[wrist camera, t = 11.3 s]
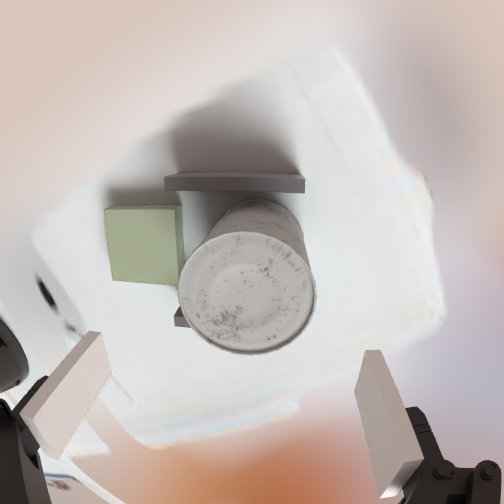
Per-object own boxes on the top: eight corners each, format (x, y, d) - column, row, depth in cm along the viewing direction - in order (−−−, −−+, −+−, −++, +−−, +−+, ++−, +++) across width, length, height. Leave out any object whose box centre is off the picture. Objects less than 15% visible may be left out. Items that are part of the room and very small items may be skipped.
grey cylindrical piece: (200, 213, 32) (157, 251, 21) (290, 188, 31) (298, 213, 19) (228, 295, 35) (205, 364, 23) (313, 275, 34) (328, 340, 22)
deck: (122, 272, 35) (112, 280, 33) (115, 205, 33) (104, 209, 30) (185, 276, 35) (179, 285, 32) (181, 204, 32) (174, 209, 30)
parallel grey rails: (187, 303, 36) (174, 326, 31) (181, 172, 31) (164, 177, 26) (292, 309, 35) (294, 334, 30) (301, 174, 30) (305, 179, 25)
